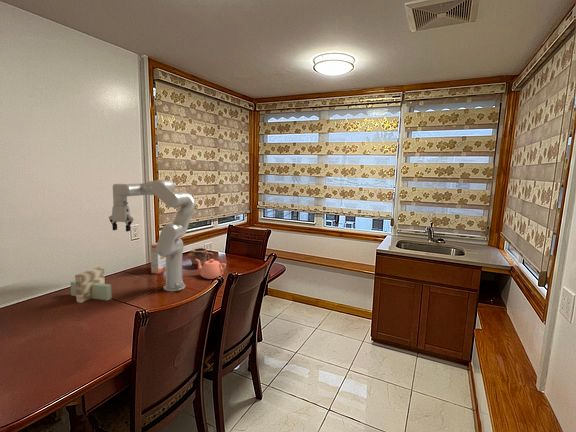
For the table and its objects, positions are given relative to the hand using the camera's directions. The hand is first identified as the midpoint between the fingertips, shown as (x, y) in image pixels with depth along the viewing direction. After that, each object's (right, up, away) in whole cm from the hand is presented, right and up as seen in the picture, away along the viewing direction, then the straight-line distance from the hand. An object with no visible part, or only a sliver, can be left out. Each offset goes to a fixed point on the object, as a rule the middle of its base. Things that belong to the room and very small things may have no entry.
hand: (121, 230), depth 191 cm
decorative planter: (+39, -30, +38) cm, 62 cm away
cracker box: (+13, -31, +27) cm, 43 cm away
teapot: (+52, -33, +19) cm, 64 cm away
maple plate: (-5, -36, -21) cm, 42 cm away
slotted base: (-5, -36, -21) cm, 42 cm away
